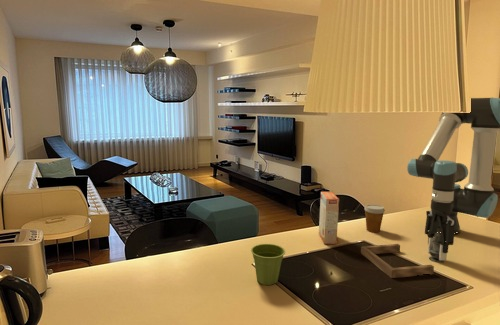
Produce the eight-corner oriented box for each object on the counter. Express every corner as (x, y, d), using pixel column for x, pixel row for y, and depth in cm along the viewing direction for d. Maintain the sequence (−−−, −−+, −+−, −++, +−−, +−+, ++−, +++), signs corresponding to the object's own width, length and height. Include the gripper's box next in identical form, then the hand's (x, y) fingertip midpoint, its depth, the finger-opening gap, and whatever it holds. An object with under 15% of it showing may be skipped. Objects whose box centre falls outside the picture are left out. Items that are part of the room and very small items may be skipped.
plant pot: (254, 290, 119) (254, 258, 117) (247, 274, 130) (248, 244, 129) (288, 287, 121) (289, 255, 119) (279, 271, 133) (279, 242, 131)
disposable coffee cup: (380, 227, 182) (382, 204, 180) (385, 234, 173) (387, 210, 171) (361, 226, 183) (362, 203, 181) (365, 233, 174) (366, 209, 172)
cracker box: (337, 244, 159) (339, 198, 156) (323, 244, 159) (325, 198, 156) (331, 233, 173) (333, 191, 169) (318, 233, 173) (320, 191, 170)
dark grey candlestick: (446, 263, 141) (449, 234, 139) (430, 262, 142) (433, 232, 140) (441, 257, 147) (444, 229, 145) (426, 256, 148) (428, 228, 146)
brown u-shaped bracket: (397, 250, 153) (398, 243, 153) (433, 274, 132) (433, 266, 131) (360, 253, 150) (361, 246, 149) (391, 278, 128) (391, 270, 128)
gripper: (417, 194, 149) (413, 248, 153) (451, 207, 131) (445, 267, 134) (433, 194, 150) (429, 246, 154) (469, 206, 132) (462, 265, 136)
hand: (436, 256), depth 144 cm, fingers closed on dark grey candlestick, 6 cm apart
